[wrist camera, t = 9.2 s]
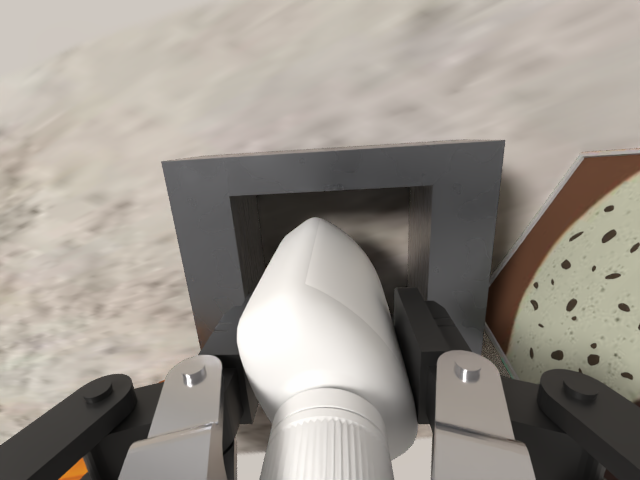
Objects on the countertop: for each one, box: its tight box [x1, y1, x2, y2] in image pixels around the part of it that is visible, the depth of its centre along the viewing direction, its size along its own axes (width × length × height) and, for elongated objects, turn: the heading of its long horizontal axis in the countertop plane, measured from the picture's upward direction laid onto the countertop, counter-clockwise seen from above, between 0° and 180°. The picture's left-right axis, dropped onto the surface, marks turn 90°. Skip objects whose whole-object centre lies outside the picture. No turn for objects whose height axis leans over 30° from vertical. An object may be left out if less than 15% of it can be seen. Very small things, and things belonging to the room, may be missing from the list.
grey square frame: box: [162, 140, 505, 355], centre depth 15 cm, size 13×11×4 cm
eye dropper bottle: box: [237, 217, 418, 480], centre depth 9 cm, size 4×6×12 cm
